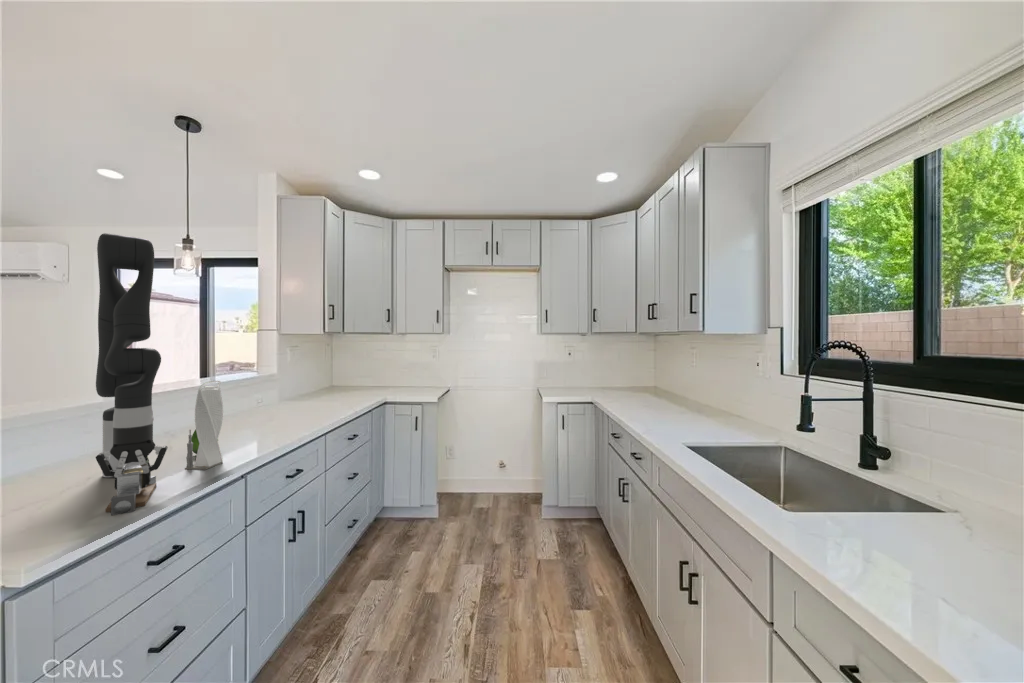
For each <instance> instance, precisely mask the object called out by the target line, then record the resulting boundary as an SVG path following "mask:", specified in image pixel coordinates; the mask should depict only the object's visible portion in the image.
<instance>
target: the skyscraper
mask: <svg viewBox="0 0 1024 683" xmlns="http://www.w3.org/2000/svg"><path fill="white" fill-rule="evenodd" d="M211 383H218V384H217V386H215V385H207V384H211ZM221 383H222V381H221V380H210V381H206V382H204V383H202V384H201V385H200V386H199V387H198V388H197V395H196V401H195V407H194V425H195V426H194V427H195V429H196V432H197V437H198V440H199V448H198V452H197V454H196V459H195V461H194V455H193V454H194V452H193V451H192V450H193V442H191V438H192V435H193V434H192V432H191V431H192V429H189V430H188V433H189V434H188V442H187V443H186V447H187V451H186V452H187V453H186V457H185V458H186V467H184V470H193V471H194V470H197V471H199V470H200V471H201V470H204V471H205V470H208V469H211V468H213V467H217V466H218V465H221V464H223V461H224V460H223V457H222V453H221V447H220V444H219V436H220V434H221V429H222V426H223V425H222V424H223V420H224V419H223V418H224V405H223V396H222V393H221V387H220V385H221ZM205 385H206V386H205ZM193 462H194V463H193Z"/></svg>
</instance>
